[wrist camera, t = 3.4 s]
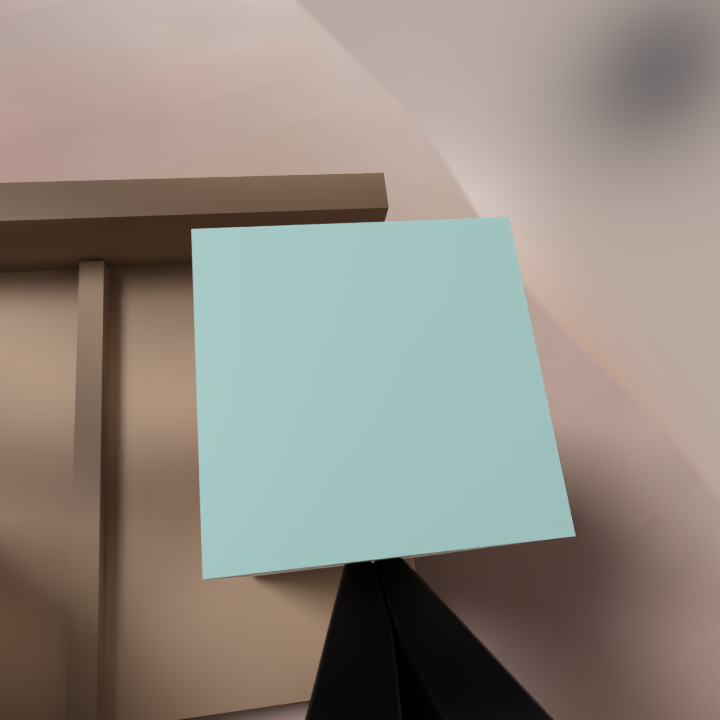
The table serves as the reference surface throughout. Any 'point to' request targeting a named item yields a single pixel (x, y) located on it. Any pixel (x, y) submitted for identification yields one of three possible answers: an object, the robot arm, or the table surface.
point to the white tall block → (367, 396)
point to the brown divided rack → (133, 457)
